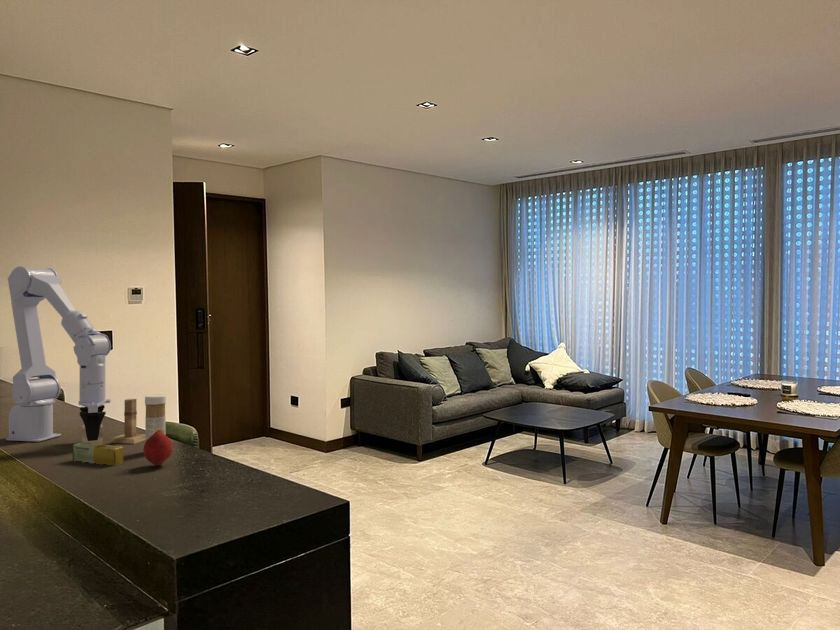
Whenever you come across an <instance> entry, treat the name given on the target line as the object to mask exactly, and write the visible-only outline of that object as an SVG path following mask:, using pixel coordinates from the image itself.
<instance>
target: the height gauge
mask: <svg viewBox="0 0 840 630" xmlns="http://www.w3.org/2000/svg"><path fill="white" fill-rule="evenodd" d="M137 413H138V412H137V398H125V399H124V412H123V416H124V421H123V423H124V426H123V428H124V432H123V433H124V434H121V435H118V436H115V437H112V439H111V441H112V442H111V443H113V444H129V445H132V444H133V445H135V444H138V443H140V442H143V441H146V438H145V433H137V415H138V414H137Z"/></svg>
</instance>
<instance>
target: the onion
mask: <svg viewBox="0 0 840 630" xmlns="http://www.w3.org/2000/svg"><path fill="white" fill-rule="evenodd" d="M173 451H174V445H173V442H172V440H171V439H170V437H169V436H167V435H166V434H165V435H164V434H163V433H162V430H161V429H157V431H156V432H155V433H154V434H153V435H152V436H150V437H149V439H148V440H147V441H146V440H145V443H144V445H143V455H144V458H145V459H146V460H147V462H149V463H150V464H152V465H154V466H156V467H160V466H162V465H163V464H164V463H165V462H166V461H167V460H168V459H169V458H170V457H171V456H172V454H173Z"/></svg>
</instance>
